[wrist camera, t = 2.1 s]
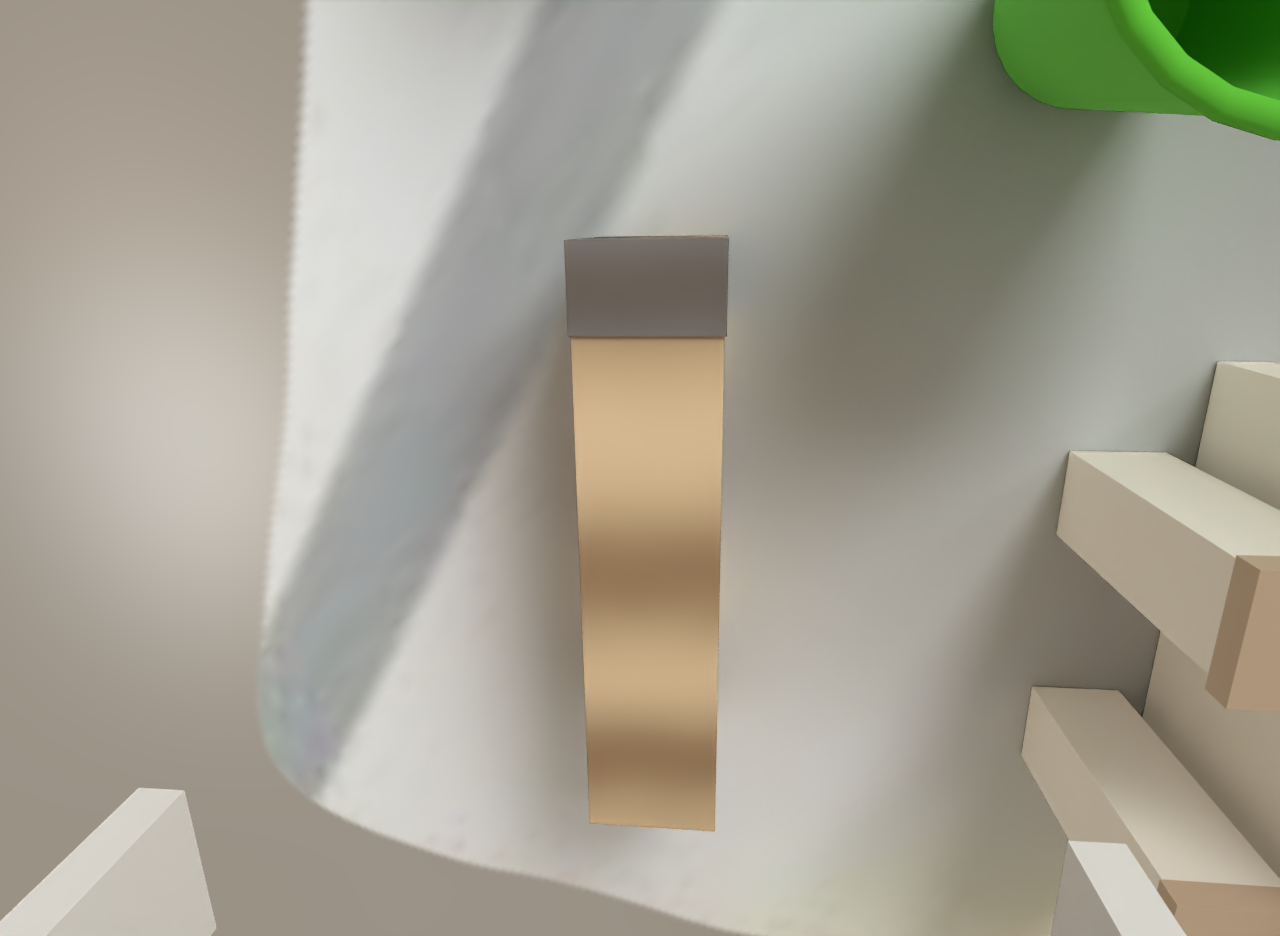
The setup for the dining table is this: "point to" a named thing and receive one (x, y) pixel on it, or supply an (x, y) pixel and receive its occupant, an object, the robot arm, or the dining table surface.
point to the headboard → (1183, 665)
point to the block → (649, 518)
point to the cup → (1148, 56)
